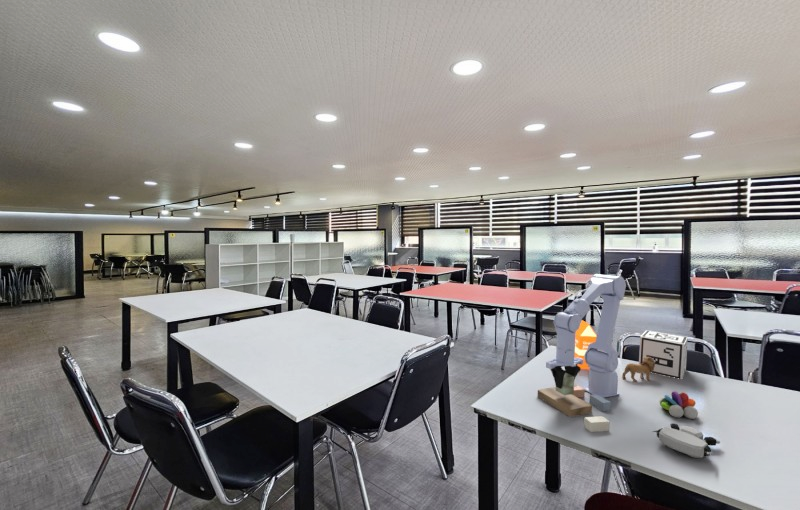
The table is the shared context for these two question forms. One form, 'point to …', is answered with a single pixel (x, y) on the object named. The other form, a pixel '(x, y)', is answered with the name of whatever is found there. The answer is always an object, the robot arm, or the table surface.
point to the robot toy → (686, 440)
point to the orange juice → (583, 341)
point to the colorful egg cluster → (679, 405)
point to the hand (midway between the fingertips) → (564, 386)
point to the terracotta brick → (579, 391)
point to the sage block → (567, 385)
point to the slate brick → (600, 402)
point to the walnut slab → (565, 402)
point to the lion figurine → (640, 368)
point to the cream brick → (596, 424)
